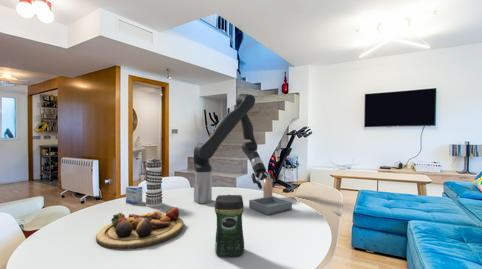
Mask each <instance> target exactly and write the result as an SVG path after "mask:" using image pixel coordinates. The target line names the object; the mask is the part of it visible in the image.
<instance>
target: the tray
mask: <svg viewBox="0 0 482 269" xmlns="http://www.w3.org/2000/svg"><path fill="white" fill-rule="evenodd" d="M292 205H293V201H290V200H287V199H284V198H281V197H277V196H274V195H272V196H268V197H259V198H253V199H249V200H248V208H249V209H251V210H253V211H255V212H259V213H260V214H263V215H265V216H273V215H276V214H281V213H284V212H288V211H292V210H293V209H292V208H293V206H292Z"/></svg>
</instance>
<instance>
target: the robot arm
mask: <svg viewBox="0 0 482 269" xmlns="http://www.w3.org/2000/svg"><path fill="white" fill-rule="evenodd" d="M235 103H236V108H235V109H234V110H233V109H232V110H231V111H230V112H228V113H227V114H225V115H224V116H222V118H221V119H220V121H218V123H216V126H215V127H214V131H213V133H212V134H211V136H210V137H209V138H208V139H207V141H205V142H204V143H203V142H202V143H197V144H196V145H195V146H194V149H193V166H194V170H195V171H194V172H195V174H194V175H195V178H194V179H195V181H194V182H195V184H193V202H195V203H197V204H207V203H211V202H212V195H213V194H212V191H213V190H212V188H213V187H212V179H213V178H212V175H213V174H212V169H213V168H212V166H211V164H210V159H211V158H212V157H213V156H214V155H215V153H216V151H217V150H218V148H219V147H220V146H221V144H222V143H223V141H224V140H226V138H227V137H228V135H230V133H231V132H232V131H233V130H234V129H235V127H236V126H237V125H238V124H239V123H240V122H241V128H242V136H243V139H244V140H248V141H246V142H243V143H242V144H241V150H242V152H243V153H244V154H245V155H246V157H247V158H248V160H249V162H250V166H251V169H252V170H253V173H251V175H250V177H251V179H252V180H251V181H252V183H253V184H255V185H257V187H258V189H259V190H262V189H263V185H262V183H261V181H263V180H264V179H265V178H270V179H272V189H273V188H275V187H276V186H275V185H276V184H275V183H274V182H275V180H276V177H275V175H274V174H273V172H272V171H269V172H267V168H266V166H265V165H264V161H263V160H262V159H261V156H260V154H259V153H258V151H257V150H258V143H257V142H256V139H255V135H254V126H253V124H252V121H251V119H250V118H249V115H248V112H250V111H251V110H252V108H253V107H254V106H255V103H256V97H255V95H253V94H250V93H240V94H238V95H237V96H236V99H235Z"/></svg>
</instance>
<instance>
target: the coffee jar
mask: <svg viewBox="0 0 482 269" xmlns="http://www.w3.org/2000/svg"><path fill="white" fill-rule="evenodd" d="M244 208H245V206H244V200H243V196H242V194H224V195H223V194H222V195H217V196H216V198H215V203H214V213H215V215H216V231H215V243H214V252H215V255H217V256H218V257H224V258H225V257H227V258H228V257H230V258H231V257H239V256H242V255H243V254H244V252H245V239H244V231H243V230H244V229H243V213H244V211H245V210H244Z"/></svg>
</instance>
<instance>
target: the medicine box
mask: <svg viewBox="0 0 482 269" xmlns="http://www.w3.org/2000/svg"><path fill="white" fill-rule="evenodd" d="M142 202H143V186H135V185H131V186H127V187H125V203H128V204H137V205H138V204H141V203H142Z"/></svg>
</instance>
